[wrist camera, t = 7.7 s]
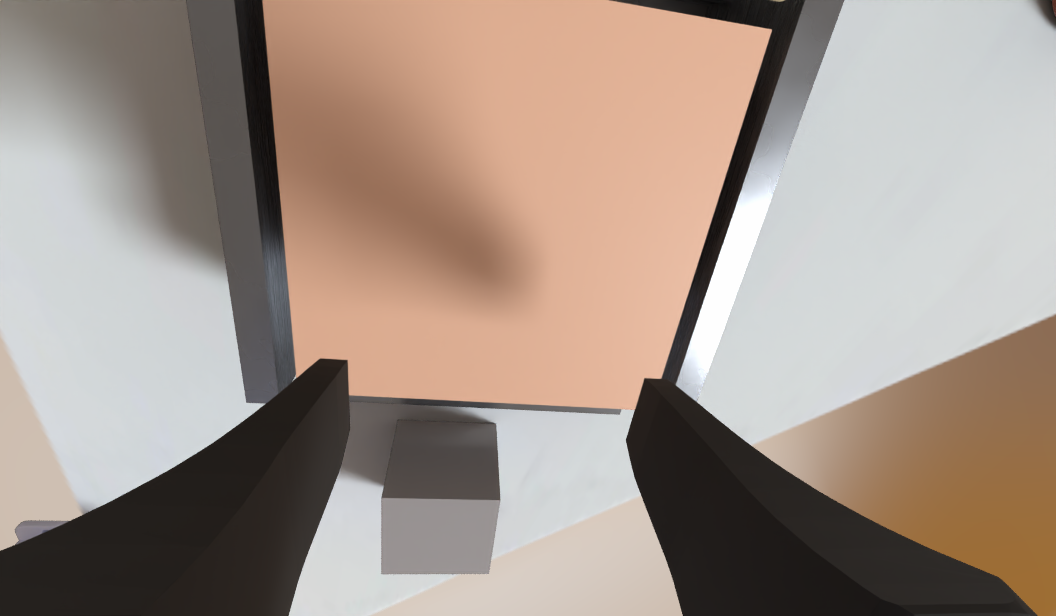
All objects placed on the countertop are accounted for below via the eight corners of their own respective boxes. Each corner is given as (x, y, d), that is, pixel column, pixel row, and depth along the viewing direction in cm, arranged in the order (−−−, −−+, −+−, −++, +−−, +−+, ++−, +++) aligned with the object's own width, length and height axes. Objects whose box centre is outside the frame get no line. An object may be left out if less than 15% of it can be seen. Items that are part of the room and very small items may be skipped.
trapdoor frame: (313, 391, 24) (261, 501, 18) (277, -110, 15) (154, -209, 9) (616, 407, 26) (657, 509, 20) (735, -21, 17) (864, -56, 12)
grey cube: (396, 489, 27) (381, 574, 23) (397, 418, 25) (381, 497, 20) (486, 491, 28) (488, 573, 23) (496, 423, 26) (500, 500, 21)
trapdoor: (307, 374, 17) (287, 412, 15) (261, -207, 10) (217, -262, 8) (642, 393, 18) (660, 429, 17) (789, -91, 12) (843, -115, 10)
